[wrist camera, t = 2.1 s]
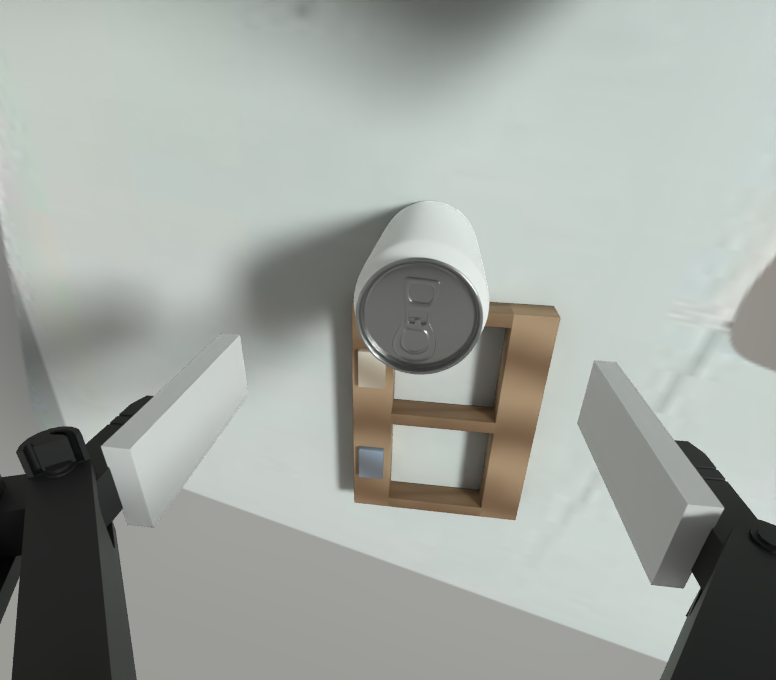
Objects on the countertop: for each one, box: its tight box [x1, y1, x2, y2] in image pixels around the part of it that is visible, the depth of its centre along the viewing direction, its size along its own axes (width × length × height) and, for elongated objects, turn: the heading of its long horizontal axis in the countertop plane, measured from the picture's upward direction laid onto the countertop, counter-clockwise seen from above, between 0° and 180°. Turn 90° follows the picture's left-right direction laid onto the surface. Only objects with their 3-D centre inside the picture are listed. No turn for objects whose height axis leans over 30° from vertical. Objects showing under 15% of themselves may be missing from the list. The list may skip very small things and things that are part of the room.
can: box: [354, 201, 489, 374], centre depth 24 cm, size 6×6×12 cm
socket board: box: [352, 300, 560, 520], centre depth 34 cm, size 19×14×2 cm
